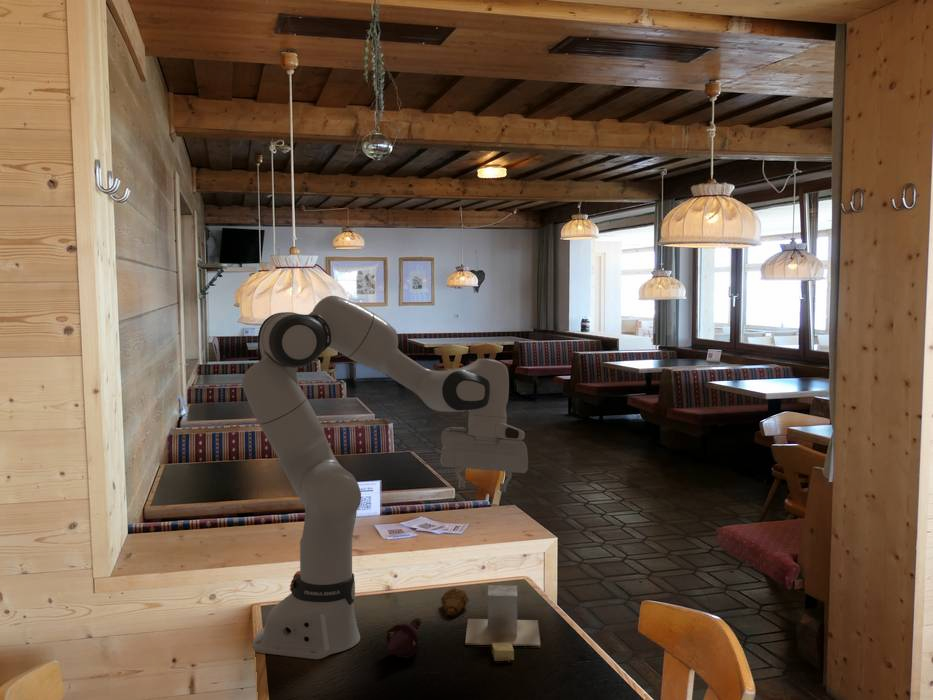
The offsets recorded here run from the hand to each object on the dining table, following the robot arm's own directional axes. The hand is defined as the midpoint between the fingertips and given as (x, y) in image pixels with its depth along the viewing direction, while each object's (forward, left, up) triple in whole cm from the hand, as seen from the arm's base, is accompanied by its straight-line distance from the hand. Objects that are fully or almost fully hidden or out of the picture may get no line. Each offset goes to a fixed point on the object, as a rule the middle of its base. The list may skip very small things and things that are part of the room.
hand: (482, 489), depth 182 cm
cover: (+5, -8, -30) cm, 31 cm away
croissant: (-7, +6, -31) cm, 32 cm away
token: (+5, -20, -31) cm, 37 cm away
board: (+5, -8, -30) cm, 32 cm away
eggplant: (-16, -20, -31) cm, 40 cm away
